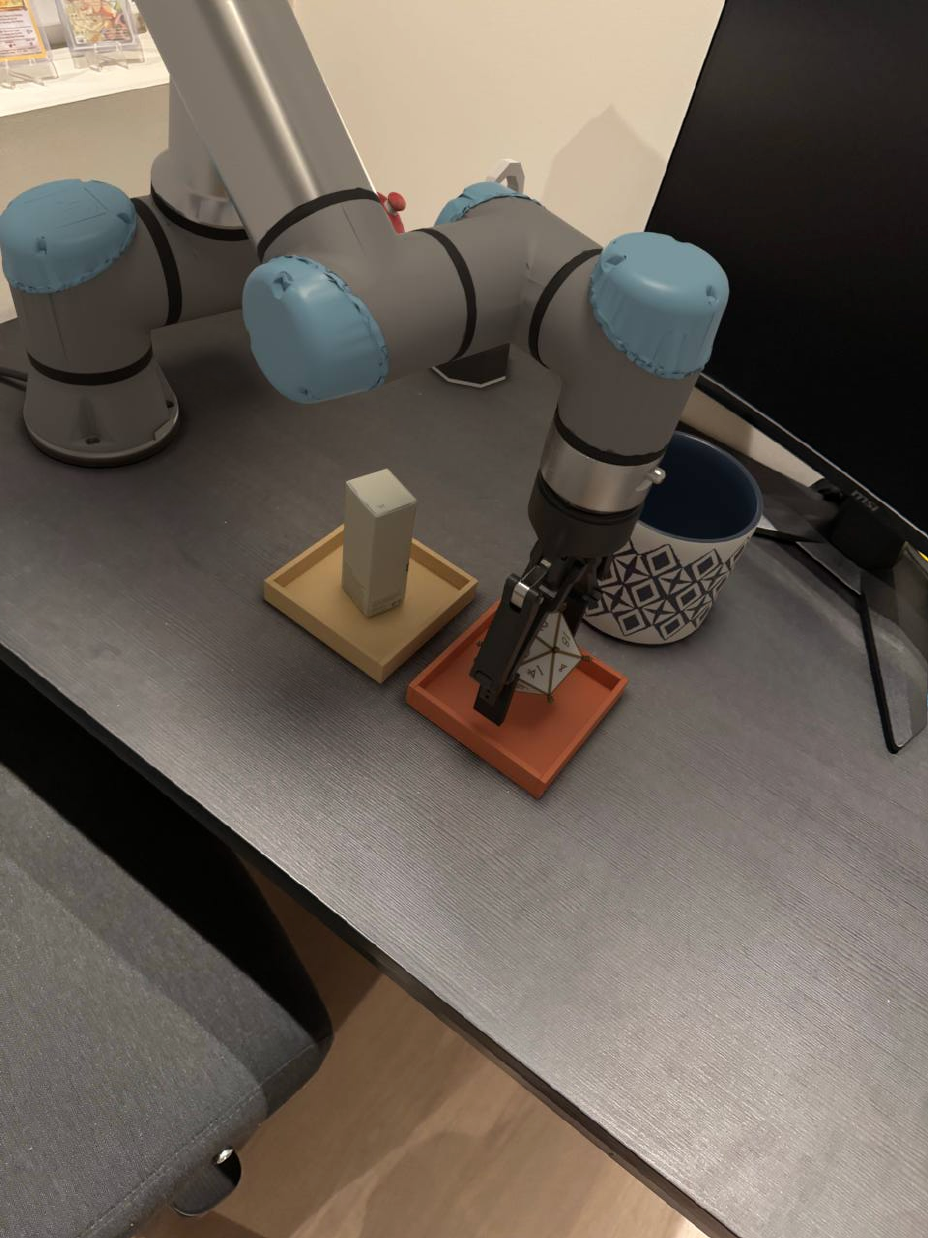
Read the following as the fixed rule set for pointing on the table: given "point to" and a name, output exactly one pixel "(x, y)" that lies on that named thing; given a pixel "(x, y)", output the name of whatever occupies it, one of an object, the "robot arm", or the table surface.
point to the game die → (549, 657)
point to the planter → (679, 545)
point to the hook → (494, 361)
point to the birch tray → (337, 621)
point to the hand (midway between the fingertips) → (523, 677)
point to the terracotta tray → (516, 711)
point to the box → (377, 541)
